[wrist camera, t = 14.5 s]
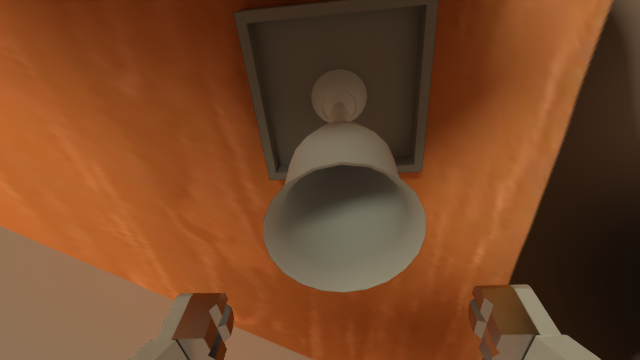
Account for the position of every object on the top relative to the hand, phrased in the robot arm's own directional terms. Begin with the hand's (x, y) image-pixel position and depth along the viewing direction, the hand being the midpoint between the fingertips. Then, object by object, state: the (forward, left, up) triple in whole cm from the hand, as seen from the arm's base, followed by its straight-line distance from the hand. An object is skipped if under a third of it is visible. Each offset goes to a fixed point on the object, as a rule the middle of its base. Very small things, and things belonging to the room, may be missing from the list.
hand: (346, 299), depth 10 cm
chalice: (0, 0, -21) cm, 21 cm away
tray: (0, 0, -22) cm, 22 cm away
